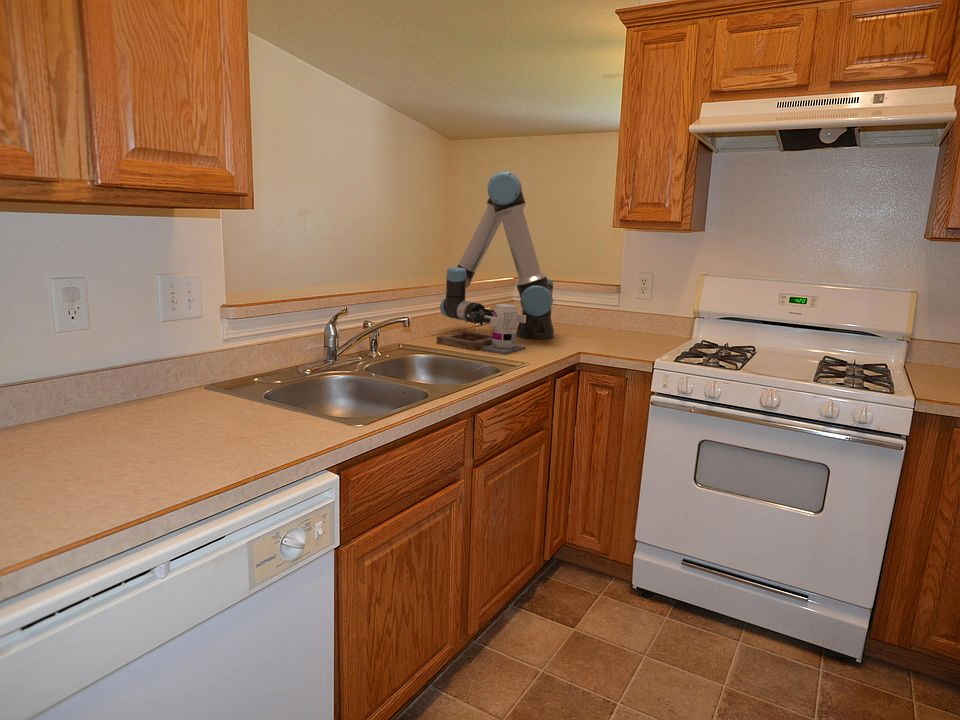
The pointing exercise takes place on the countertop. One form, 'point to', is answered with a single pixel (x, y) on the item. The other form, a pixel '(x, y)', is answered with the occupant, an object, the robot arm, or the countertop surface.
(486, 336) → the walnut collar
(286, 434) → the countertop surface
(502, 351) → the slate mat
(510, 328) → the supplement can
